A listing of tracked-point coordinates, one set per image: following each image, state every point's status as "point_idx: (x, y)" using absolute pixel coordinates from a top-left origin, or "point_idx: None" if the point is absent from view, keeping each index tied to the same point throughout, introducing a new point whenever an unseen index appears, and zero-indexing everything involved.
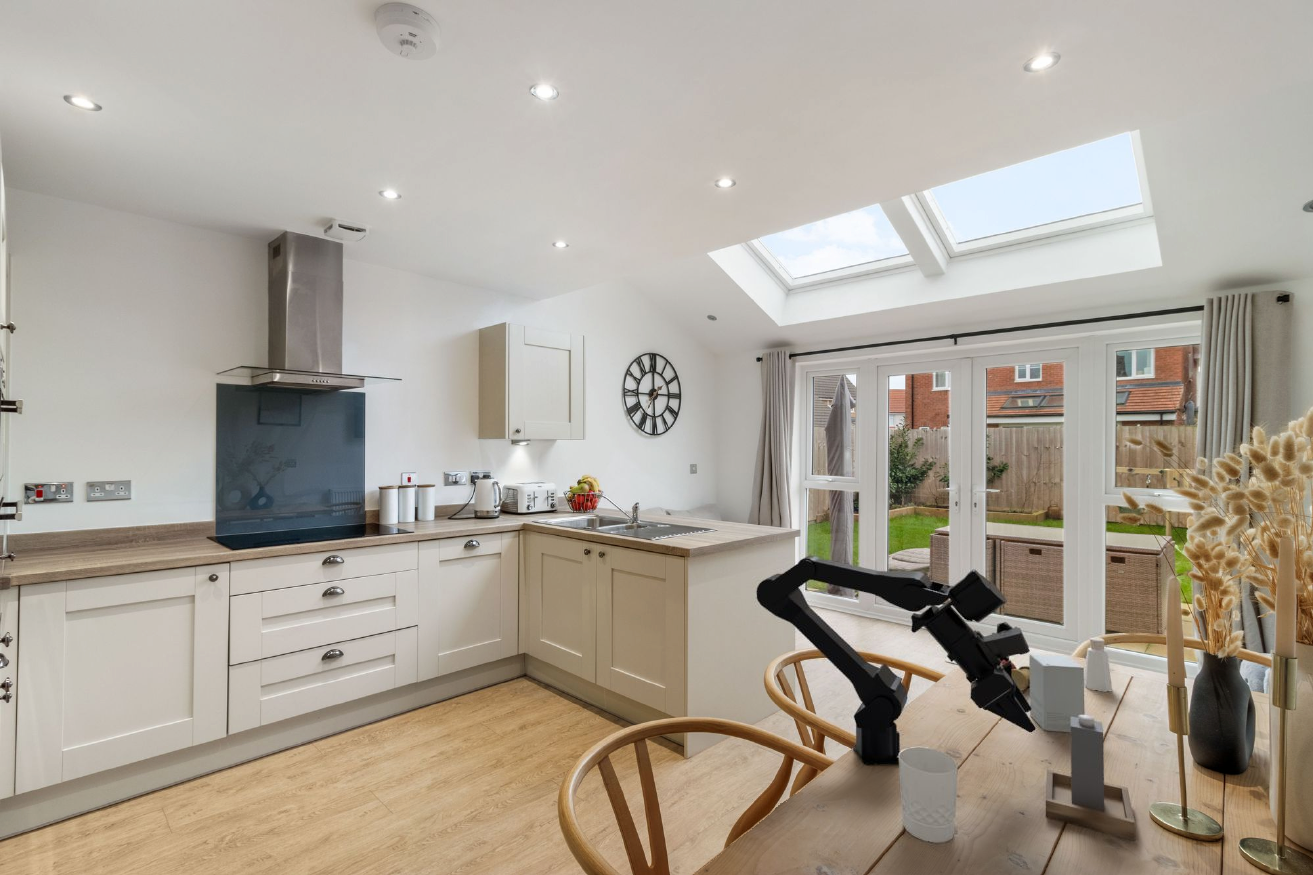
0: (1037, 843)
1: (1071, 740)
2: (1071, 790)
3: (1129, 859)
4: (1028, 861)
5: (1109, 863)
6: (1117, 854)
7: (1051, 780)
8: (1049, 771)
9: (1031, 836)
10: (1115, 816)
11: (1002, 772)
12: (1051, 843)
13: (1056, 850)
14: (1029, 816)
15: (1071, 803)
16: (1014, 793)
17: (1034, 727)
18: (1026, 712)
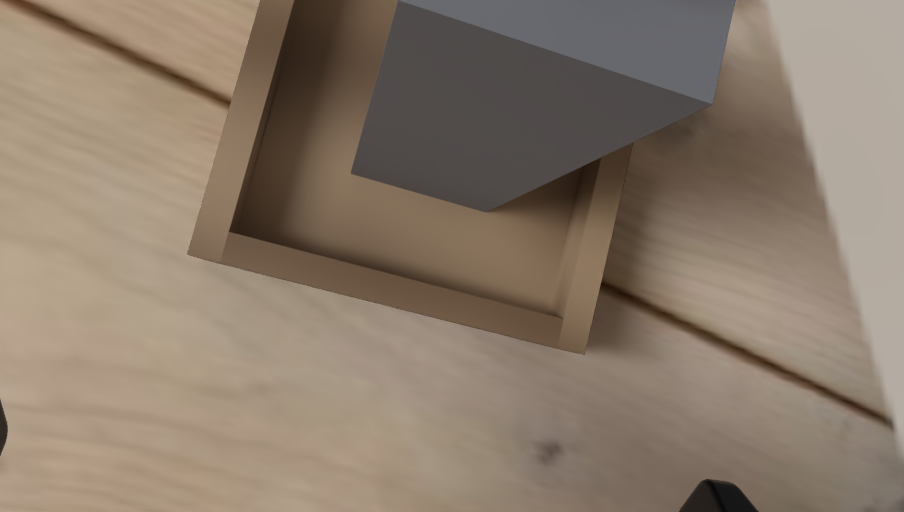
0: (771, 430)
1: (636, 137)
2: (419, 184)
3: (767, 101)
4: (898, 490)
5: (816, 187)
6: (748, 134)
7: (342, 266)
8: (220, 247)
9: (728, 445)
10: None
11: (121, 483)
12: (753, 373)
13: (795, 365)
14: (569, 421)
15: (456, 205)
16: (363, 454)
17: (747, 500)
18: (6, 435)
